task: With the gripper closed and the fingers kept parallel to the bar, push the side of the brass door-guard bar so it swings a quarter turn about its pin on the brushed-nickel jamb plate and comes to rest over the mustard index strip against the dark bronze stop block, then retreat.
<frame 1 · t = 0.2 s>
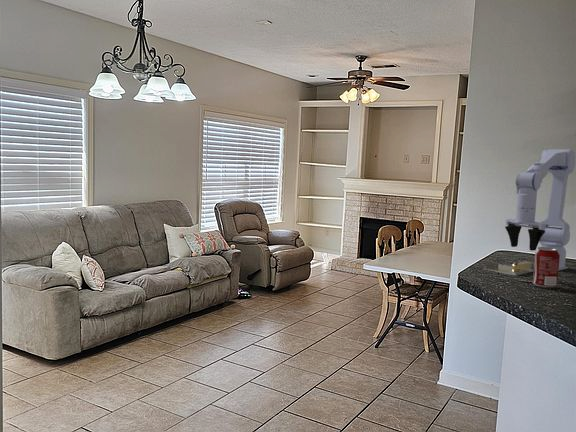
hand: (523, 248, 172), 10 cm above the countertop, fingers open, 7 cm apart
jamb plate: (507, 270, 183), on the countertop
soda can: (544, 287, 158), on the countertop
swing bar: (521, 265, 179), point 2 cm above the countertop, hinge at 0.0°
keeper: (498, 271, 181), resting on jamb plate
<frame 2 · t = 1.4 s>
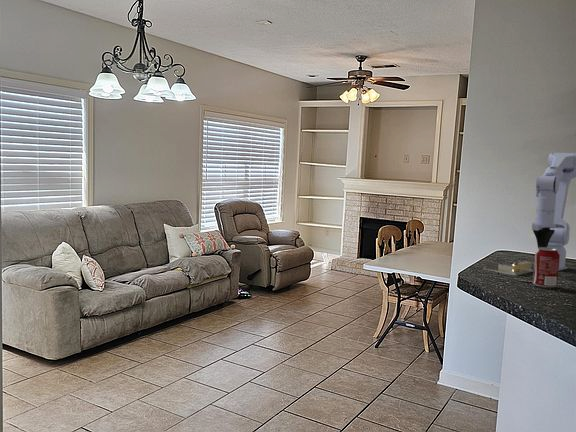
hand: (542, 249, 176), 9 cm above the countertop, fingers closed
nothing on the countertop moved.
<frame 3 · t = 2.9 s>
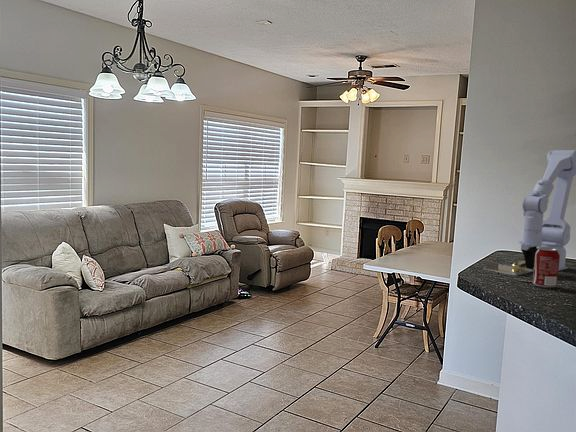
hand: (529, 268, 180), 2 cm above the countertop, fingers closed, pressing on swing bar
swing bar: (520, 265, 179), point 2 cm above the countertop, hinge at 5.5°, touching gripper
everything else where it was.
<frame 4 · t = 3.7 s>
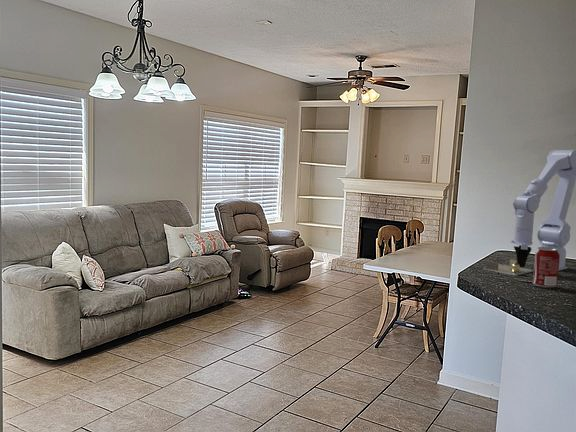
hand: (521, 266, 182), 2 cm above the countertop, fingers closed, pressing on swing bar
swing bar: (514, 264, 180), point 2 cm above the countertop, hinge at 30.6°, touching gripper
everything else where it was.
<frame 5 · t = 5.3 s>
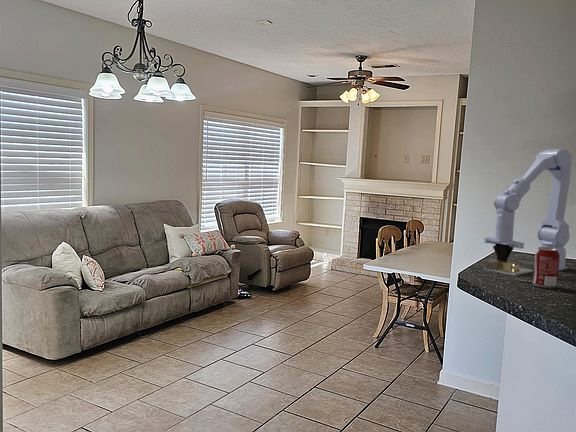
hand: (501, 265, 183), 2 cm above the countertop, fingers closed, pressing on swing bar
swing bar: (504, 264, 180), point 2 cm above the countertop, hinge at 83.2°, touching gripper
everything else where it was.
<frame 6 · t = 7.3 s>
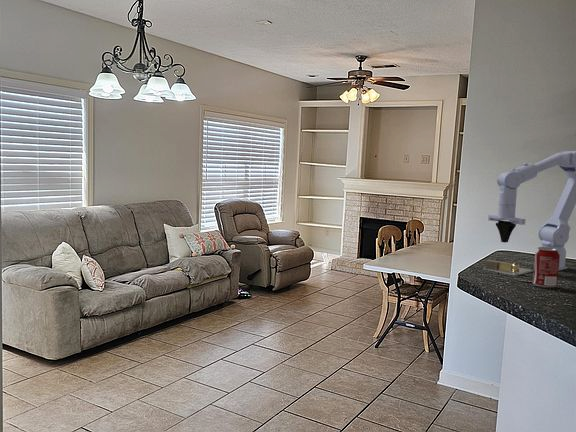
hand: (504, 242, 187), 10 cm above the countertop, fingers closed
swing bar: (503, 264, 179), point 2 cm above the countertop, hinge at 92.4°, touching keeper
everything else where it was.
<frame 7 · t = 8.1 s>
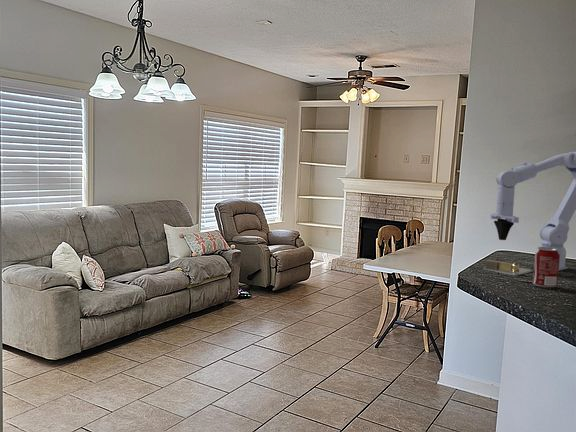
hand: (502, 239, 190), 10 cm above the countertop, fingers closed
nothing on the countertop moved.
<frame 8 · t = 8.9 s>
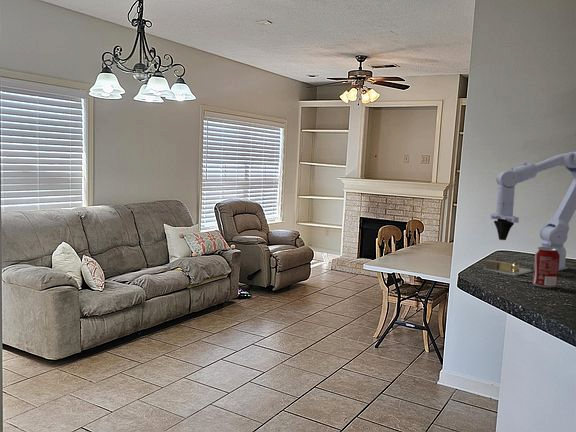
hand: (502, 239, 190), 10 cm above the countertop, fingers closed
nothing on the countertop moved.
at the end: swing bar at +92° (first picture: +0°); soda can moved 0.2 cm from its start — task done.
